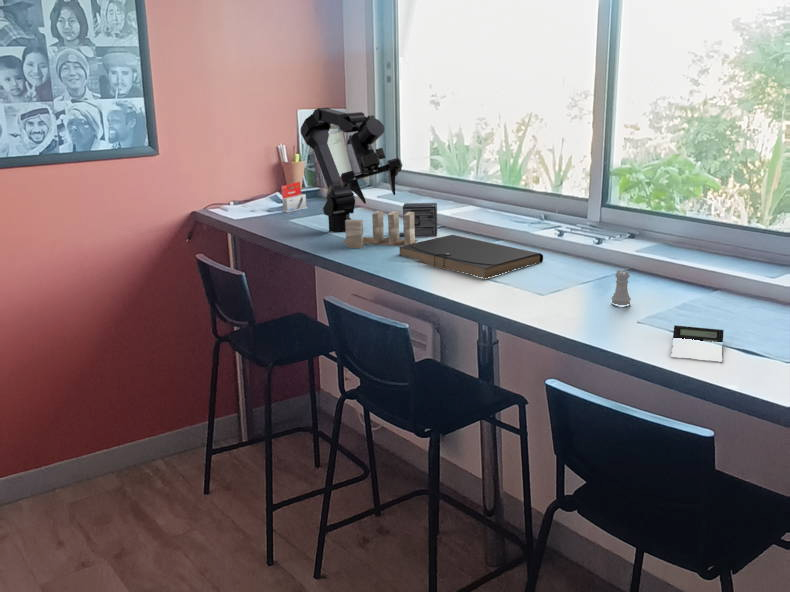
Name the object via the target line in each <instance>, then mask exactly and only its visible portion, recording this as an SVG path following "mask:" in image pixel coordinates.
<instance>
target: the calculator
mask: <svg viewBox="0 0 790 592" xmlns="http://www.w3.org/2000/svg"><path fill="white" fill-rule="evenodd" d="M672 333H673V335H672V339H673V338H682V339H684V338H685V339H692V340H693V339H694V340H700V341H710V342H712V341H713V342H723V343H724V329H719V328H718V329H717V328H707V327H706V328H705V327H694V326H685V325H674V326H673V332H672Z"/></svg>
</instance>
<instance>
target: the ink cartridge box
mask: <svg viewBox="0 0 790 592" xmlns="http://www.w3.org/2000/svg"><path fill="white" fill-rule="evenodd" d="M280 187H281V197H282V212H283V213H291V212H294V211H295V212H296V211H299V210H301V209H305V208H307V195H306V194H305V193H302V187H301V182H300V181H296V182H293V183H288V184H285V185H281V186H280ZM290 187H293V188H290ZM289 188H290V189H289Z"/></svg>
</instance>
